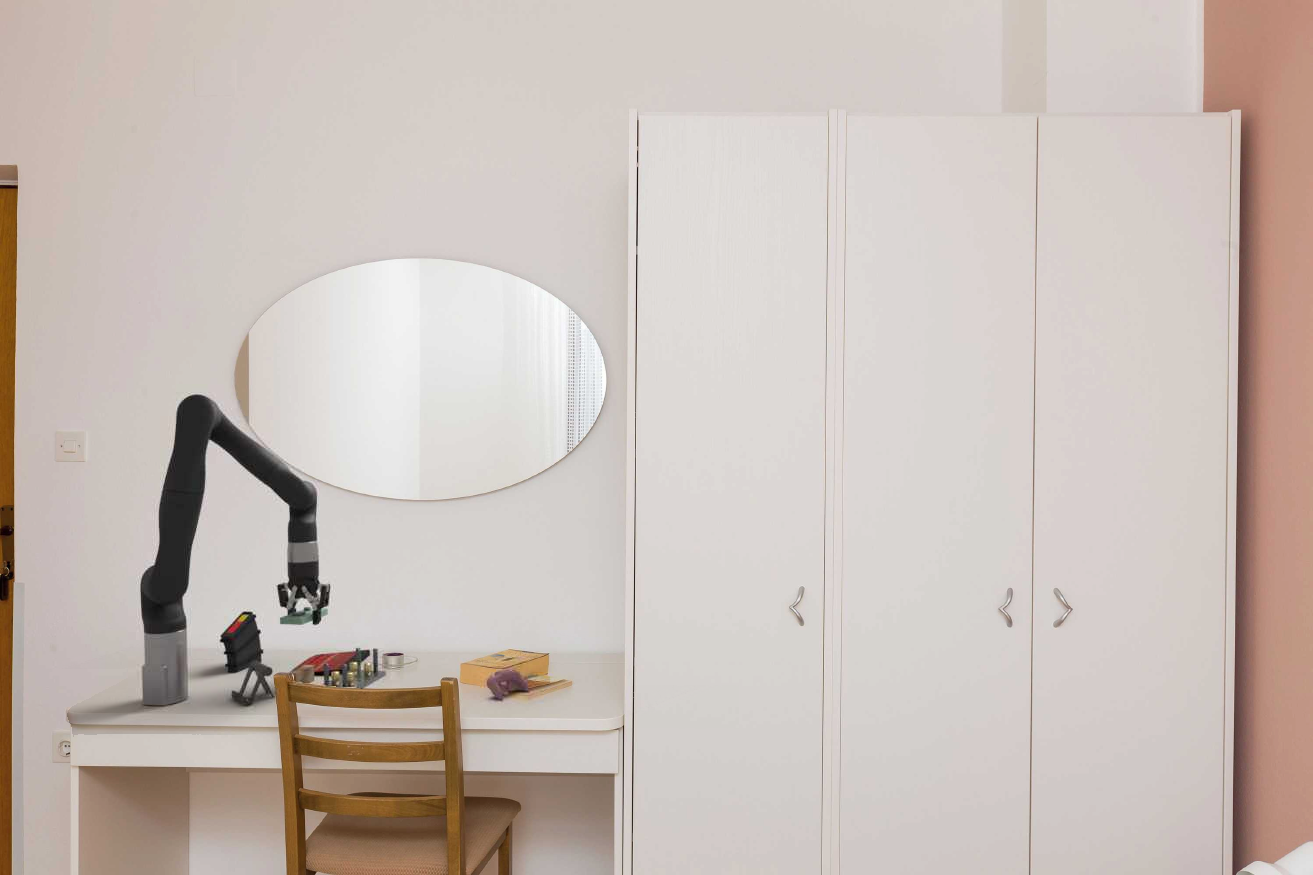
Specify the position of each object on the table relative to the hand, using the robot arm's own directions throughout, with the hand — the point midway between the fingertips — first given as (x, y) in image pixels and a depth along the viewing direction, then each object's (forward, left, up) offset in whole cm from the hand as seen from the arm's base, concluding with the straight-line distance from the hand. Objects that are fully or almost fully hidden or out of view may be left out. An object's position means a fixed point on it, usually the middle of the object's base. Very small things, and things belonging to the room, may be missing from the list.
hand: (304, 623), depth 237 cm
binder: (+18, +4, -16) cm, 24 cm away
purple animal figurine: (0, -55, -16) cm, 57 cm away
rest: (0, +1, -16) cm, 16 cm away
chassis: (+3, -11, -16) cm, 20 cm away
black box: (+12, +27, -16) cm, 33 cm away
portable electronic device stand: (-13, +6, -16) cm, 22 cm away
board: (0, 0, +1) cm, 1 cm away
